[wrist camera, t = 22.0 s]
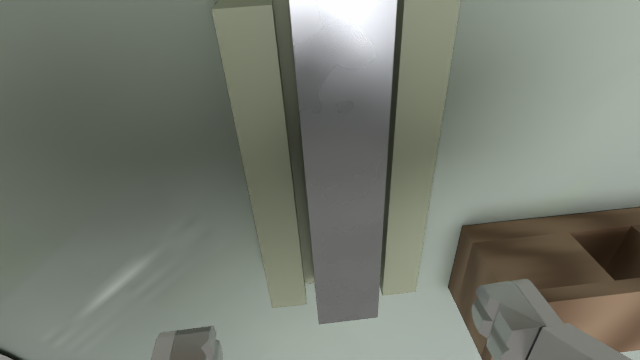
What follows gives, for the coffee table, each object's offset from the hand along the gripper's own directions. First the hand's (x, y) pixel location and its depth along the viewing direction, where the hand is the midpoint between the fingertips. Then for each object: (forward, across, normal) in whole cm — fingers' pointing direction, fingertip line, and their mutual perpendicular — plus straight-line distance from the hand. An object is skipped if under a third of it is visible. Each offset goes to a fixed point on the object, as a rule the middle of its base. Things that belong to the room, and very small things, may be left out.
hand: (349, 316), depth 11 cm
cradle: (+10, -1, 0) cm, 10 cm away
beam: (+9, -17, +9) cm, 21 cm away
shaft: (+8, -1, 0) cm, 8 cm away
